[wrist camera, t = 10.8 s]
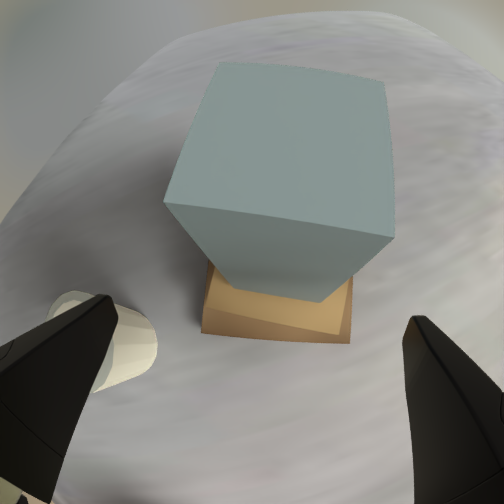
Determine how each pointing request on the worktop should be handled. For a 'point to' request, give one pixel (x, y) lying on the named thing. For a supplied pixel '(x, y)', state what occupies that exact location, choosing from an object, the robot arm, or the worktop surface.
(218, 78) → the tall block
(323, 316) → the tower top
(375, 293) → the worktop surface
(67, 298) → the shot glass
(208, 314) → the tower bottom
